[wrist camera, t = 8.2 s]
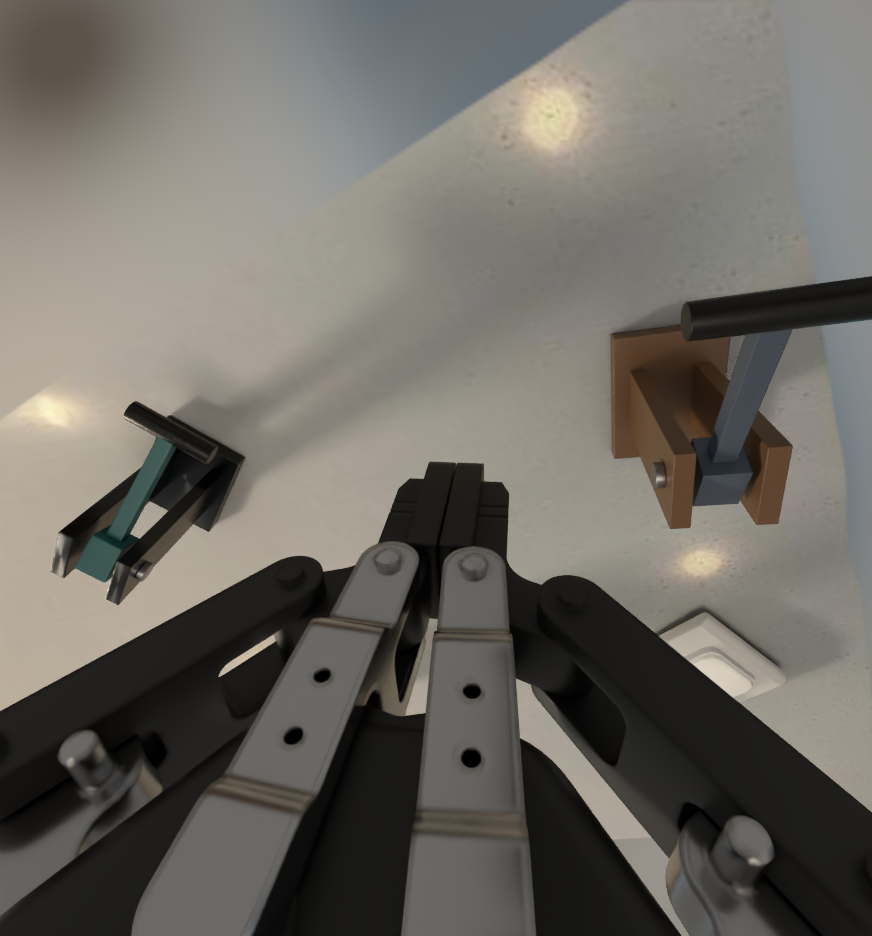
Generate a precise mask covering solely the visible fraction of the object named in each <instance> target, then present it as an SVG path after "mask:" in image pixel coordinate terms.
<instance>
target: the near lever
mask: <svg viewBox="0 0 872 936" xmlns="http://www.w3.org/2000/svg"><path fill="white" fill-rule="evenodd" d="M871 319H872V276H871V277H863V278H856V279H849V280H842V281H834V282H828V283H820V284H812V285H805V286H798V287H791V288H783V289H776V290H769V291H762V292H754V293H747V294H740V295H732V296H725V297H718V298H711V299H703V300H696V301H689V302H686V303H684V305H683V308H682V312H681V331H682V336H683V338H684V340H685V341H686V342H691V341H699V340H708V339H716V338H724V337H732V336H741V335H745V338H744V341H743V344H742V347H741V350H740V353H739V356H738V358H737V361H736V364H735V367H734V370H733V373H732V376H731V379H730V382H729V385H728V388H727V391H726V394H725V397H724V400H723V403H722V406H721V409H720V412H719V415H718V418H717V421H716V424H715V427H714V430H713V433H712V436H711V437H703V438H693V439H692V440H691V445H692V447H693V448H694V450H695V451H696V453H697V456H696V468H695V480H694V491H693V503H692V505H693V506H706V505H723V504H738V503H739V501H740V499H741V497H742V495H743V493H744V491H745V489H746V487H747V485H748V483H749V481H750V479H751V476H752V474H753V471H752V469H751V466H750V463H749V461H748V458H747V455H746V453H745V450H744V447H743V445H744V442H745V440H746V438H747V435H748V433H749V431H750V428H751V426H752V424H753V421H754V419H755V416H756V414H757V412H758V409H759V407H760V405H761V402H762V400H763V398H764V395H765V393H766V391H767V388H768V386H769V384H770V381H771V379H772V376H773V374H774V372H775V369H776V367H777V365H778V362H779V360H780V358H781V355H782V353H783V351H784V348H785V346H786V344H787V341H788V339H789V336H790V334H791V332H792V329H798V328H806V327H814V326H823V325H830V324H839V323H847V322H855V321H863V320H871Z"/></svg>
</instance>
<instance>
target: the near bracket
mask: <svg viewBox="0 0 872 936" xmlns="http://www.w3.org/2000/svg"><path fill="white" fill-rule="evenodd" d="M729 345H730V337H724V338H716V339H708V340H699V341H691V342H686V341H685V340H684V338H683V336H682V331H681V325H678V326H670V327H663V328H655V329H647V330H639V331H632V332H624V333H616V334H611V394H612V453H613V456H614V459H619V458H632V457H641V460H642V462H643V464H644V467H645V469H646V472H647V474H648V477H649V479H650V482H651V484H652V486H653V489H654V491H655V494H656V496H657V499H658V501H659V503H660V506H661V508H662V511H663V513H664V516H665V518H666V520H667V523H668V525H669V528H670V529H679V528H690V526H691V515H692V503H693V491H694V480H695V468H696V456H697V453H696V451H695V450H694V448H693V447H692V445H691V440H692V439H693V438H703V437H711V436H712V433H713V430H714V427H715V424H716V421H717V418H718V415H719V412H720V409H721V406H722V403H723V400H724V397H725V394H726V391H727V388H728V385H729V382H730V381H729V380H728V379H727V378H726V372H727V363H728V354H729ZM743 447H744V450H745V453H746V455H747V458H748V461H749V463H750V466H751V469H752V471H753V474H752V476H751V479H750V481H749V483H748V485H747V487H746V489H745V491H744V493H743V495H742V497H741V499H740V501H741V502H742V504H743V505H744V507H745V508H746V510H747V512H748V513H749V515H750V516H751V518H752V519H753V521H754V522H755V524H756V525H764V524H778V521H779V516H780V511H781V506H782V500H783V495H784V490H785V484H786V479H787V474H788V469H789V463H790V458H791V453H792V448H793V446H792V444H791V443H790V442H789V441H788V440H787V439H786V438H785V437H784V436H783V435H782V434H781V433H780V432H779V431H778V430H777V429H776V428H775V427H774V426H773V425H772V424H771V423H770V422H769V421H768V420H767V419H766V418H765V417H764V416H763V415H762V414H761V413H760V412H759V411H758V412H757V414H756V416H755V419H754V421H753V424H752V426H751V428H750V431H749V433H748V435H747V438H746V440H745V442H744V445H743Z"/></svg>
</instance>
